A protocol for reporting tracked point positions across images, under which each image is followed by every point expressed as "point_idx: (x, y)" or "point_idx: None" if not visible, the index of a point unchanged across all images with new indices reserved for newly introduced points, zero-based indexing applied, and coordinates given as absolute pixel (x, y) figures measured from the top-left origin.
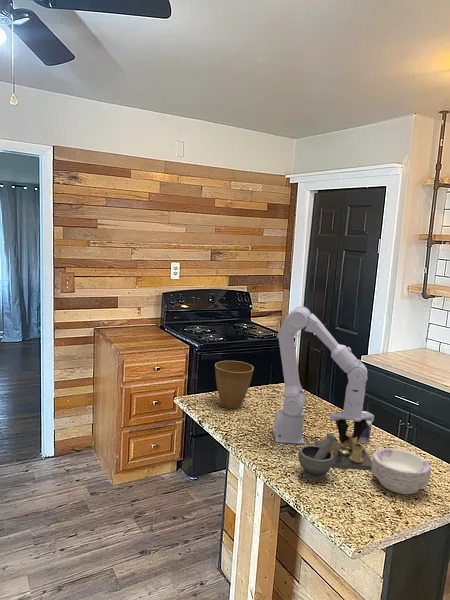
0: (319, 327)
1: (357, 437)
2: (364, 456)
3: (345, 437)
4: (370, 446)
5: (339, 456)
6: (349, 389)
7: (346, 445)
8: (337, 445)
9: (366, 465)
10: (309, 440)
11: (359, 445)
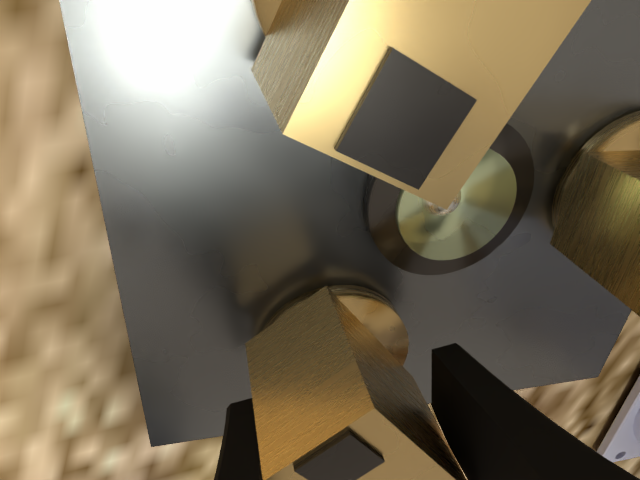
0: None
1: (259, 472)
2: (169, 145)
3: (428, 435)
4: (13, 466)
5: (556, 81)
6: None
7: (374, 340)
8: (431, 351)
9: None
10: (575, 397)
11: (398, 103)
